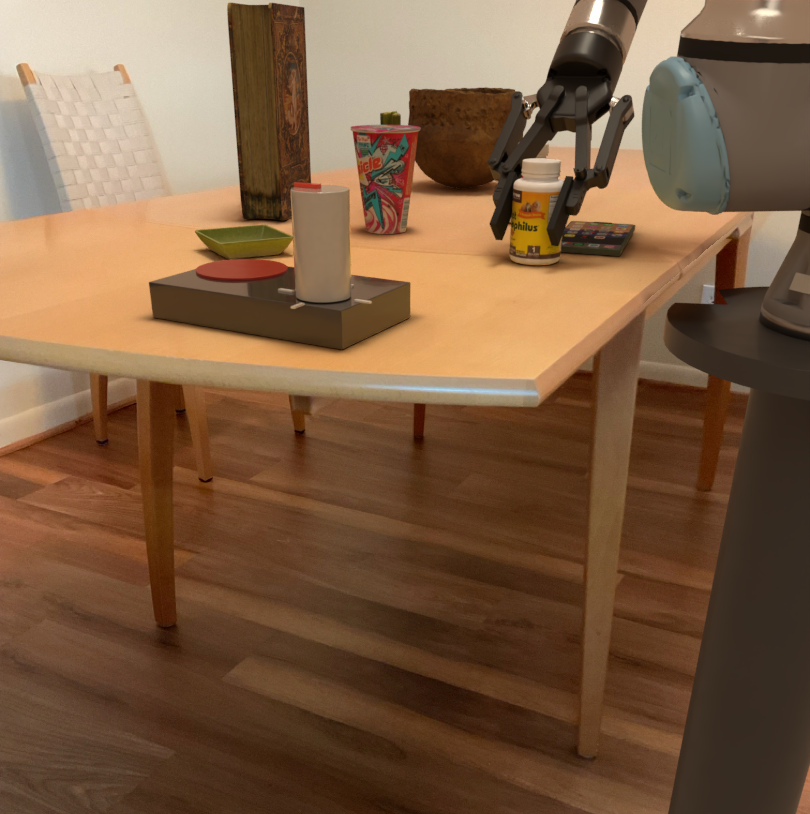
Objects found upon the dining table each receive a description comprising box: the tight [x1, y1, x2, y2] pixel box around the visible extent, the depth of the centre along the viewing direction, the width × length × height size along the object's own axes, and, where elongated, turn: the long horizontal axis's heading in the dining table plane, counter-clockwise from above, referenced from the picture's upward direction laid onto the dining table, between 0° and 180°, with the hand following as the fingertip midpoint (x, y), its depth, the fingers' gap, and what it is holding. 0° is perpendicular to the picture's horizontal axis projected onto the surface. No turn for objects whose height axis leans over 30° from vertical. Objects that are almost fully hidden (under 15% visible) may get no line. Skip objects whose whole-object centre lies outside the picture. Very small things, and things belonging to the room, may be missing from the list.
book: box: [226, 2, 312, 221], centre depth 122 cm, size 16×6×25 cm, turn 170°
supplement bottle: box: [508, 157, 564, 266], centre depth 97 cm, size 6×6×10 cm
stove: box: [148, 259, 411, 351], centre depth 77 cm, size 20×12×3 cm, turn 61°
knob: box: [290, 182, 352, 303], centre depth 70 cm, size 4×4×8 cm
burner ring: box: [195, 258, 289, 281], centre depth 80 cm, size 8×8×1 cm
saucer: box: [194, 224, 293, 260], centre depth 102 cm, size 9×9×2 cm
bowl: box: [407, 86, 524, 190], centre depth 147 cm, size 19×19×15 cm
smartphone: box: [561, 220, 636, 257], centre depth 109 cm, size 8×15×1 cm, turn 161°
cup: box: [350, 124, 421, 235], centre depth 112 cm, size 9×8×12 cm
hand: (523, 234), depth 95 cm, fingers closed on supplement bottle, 6 cm apart
